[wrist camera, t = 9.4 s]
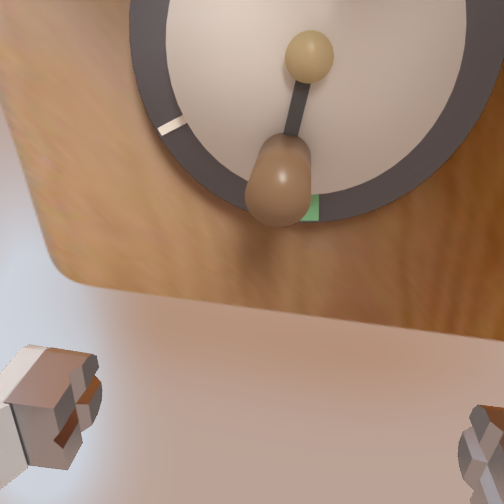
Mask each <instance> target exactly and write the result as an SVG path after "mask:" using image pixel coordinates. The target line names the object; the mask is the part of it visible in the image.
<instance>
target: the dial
mask: <svg viewBox="0 0 504 504" xmlns="http://www.w3.org/2000/svg"><path fill="white" fill-rule="evenodd" d="M465 36H466V1H465V0H170V2H169V9H168V16H167V23H166V54H167V65H168V70H169V75H170V80H171V85H172V88H173V91H174V94H175V97H176V100H177V103H178V105H179V107H180V110H181V112H182V114H183V116H184V118H185V120H186V122H187V123H188V125H189V127H190V128H191V130H192V132H193V133H194V135H195V136H196V137H197V139H198V140H199V141H200V142H201V144H202V145H203V146H204V147H205V149H206V150H207V151H208V152H209V153H210V154H211V155H212V156H213V157H214V158H215V159H216V160H217V161H218V162H220V163H221V164H222V165H224V166H225V167H226V168H228V169H229V170H230V171H231V172H233V173H235V174H236V175H238V176H240V177H242V178H243V179H245V180H247V181H248V183H247V186H246V190H245V203H246V206H247V208H248V210H249V212H250V214H251V215H252V216H253V217H254V218H255V219H256V220H257V221H258V222H260V223H262V224H264V225H266V226H269V227H274V228H283V227H288V226H291V225H293V224H295V223H297V222H298V221H300V220H301V219H302V218H303V217H304V216H305V214H306V213H307V211H308V209H309V207H310V203H311V195H314V194H326V193H331V192H336V191H341V190H345V189H348V188H351V187H354V186H357V185H360V184H362V183H364V182H367V181H369V180H371V179H373V178H375V177H377V176H379V175H380V174H382V173H383V172H385V171H387V170H388V169H390V168H391V167H393V166H394V165H395V164H397V163H398V162H399V161H400V160H402V159H403V158H404V157H405V156H407V155H408V154H409V153H410V152H411V151H412V150H413V149H414V148H415V147H416V146H417V145H418V144H419V143H420V142H421V141H422V139H423V138H424V137H425V135H426V134H427V133H428V132H429V130H430V129H431V128H432V127H433V125H434V124H435V122H436V120H437V119H438V117H439V116H440V114H441V112H442V111H443V109H444V107H445V105H446V103H447V101H448V99H449V97H450V95H451V93H452V90H453V88H454V85H455V82H456V79H457V76H458V73H459V70H460V66H461V62H462V57H463V52H464V47H465Z"/></svg>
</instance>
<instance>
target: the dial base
mask: <svg viewBox="0 0 504 504" xmlns="http://www.w3.org/2000/svg"><path fill="white" fill-rule="evenodd" d="M465 1H466V36H465V47H464V52H463V57H462V62H461V66H460V70H459V73H458V76H457V79H456V82H455V85H454V88H453V90H452V93H451V95H450V97H449V99H448V101H447V103H446V105H445V107H444V109H443V111H442V112H441V114H440V116H439V117H438V119H437V120H436V122H435V124H434V125H433V127H432V128H431V129H430V130H429V132H428V133H427V134H426V135H425V137H424V138H423V139H422V141H421V142H420V143H419V144H418V145H417V146H416V147H415V148H414V149H413V150H412V151H411V152H410V153H409V154H408V155H407V156H405V157H404V158H403V159H402V160H400V161H399V162H398V163H397V164H395V165H394V166H393V167H391V168H390V169H388V170H387V171H385V172H383V173H382V174H380V175H379V176H377V177H375V178H373V179H371V180H369V181H367V182H364V183H362V184H360V185H357V186H354V187H351V188H348V189H345V190H341V191H336V192H331V193H326V194H314V195H311V203H310V207H309V209H308V211H307V213H306V214H305V216H304V217H303V218H302V219H301V220H300V221H298V222H303V223H315V222H329V221H336V220H341V219H346V218H351V217H354V216H358V215H361V214H364V213H367V212H370V211H373V210H375V209H378V208H380V207H382V206H384V205H386V204H389V203H391V202H393V201H395V200H396V199H398V198H400V197H401V196H403V195H405V194H406V193H408V192H410V191H411V190H413V189H414V188H416V187H417V186H418V185H419V184H421V183H422V182H423V181H425V180H426V179H427V178H429V177H430V176H431V175H432V174H433V173H434V172H435V171H436V170H438V169H439V168H440V167H441V166H442V165H443V164H444V163H445V162H446V161H447V160H448V159H449V158H450V157H451V155H452V154H453V153H454V152H455V151H456V149H457V148H458V147H459V146H460V145H461V143H462V142H463V141H464V140H465V138H466V137H467V135H468V134H469V132H470V131H471V129H472V128H473V126H474V125H475V123H476V122H477V120H478V119H479V117H480V115H481V113H482V111H483V109H484V107H485V105H486V103H487V101H488V99H489V97H490V96H491V93H492V91H493V88H494V85H495V83H496V80H497V77H498V75H499V72H500V69H501V66H502V62H503V58H504V0H465ZM169 2H170V0H131V3H130V13H129V28H130V48H131V56H132V63H133V69H134V73H135V77H136V81H137V85H138V89H139V92H140V95H141V98H142V101H143V103H144V106H145V109H146V111H147V114H148V116H149V118H150V120H151V122H152V124H153V126H154V128H155V130H156V132H157V133H158V135H159V137H160V138H161V140H162V141H163V143H164V144H165V146H166V147H167V149H168V150H169V152H170V153H171V154H172V155H173V157H174V158H175V159H176V160H177V161H178V162H179V164H180V165H181V166H182V167H183V168H184V169H185V170H186V171H187V172H188V173H189V174H190V175H191V176H192V177H193V178H194V179H195V180H196V181H197V182H198V183H200V184H201V185H202V186H204V187H205V188H206V189H208V190H209V191H210V192H212V193H213V194H214V195H216V196H218V197H219V198H221V199H223V200H225V201H226V202H228V203H230V204H232V205H234V206H236V207H238V208H241V209H243V210H245V211H248V212H249V210H248V208H247V206H246V203H245V190H246V186H247V183H248V181H247V180H245V179H243V178H242V177H240V176H238V175H236V174H235V173H233V172H231V171H230V170H229V169H228V168H226V167H225V166H224V165H222V164H221V163H220V162H218V161H217V160H216V159H215V158H214V157H213V156H212V155H211V154H210V153H209V152H208V151H207V150H206V149H205V147H204V146H203V145H202V144H201V142H200V141H199V140H198V139H197V137H196V136H195V135H194V133H193V132H192V130H191V128H190V127H189V125H188V123H187V122H186V120H185V118H184V116H183V114H182V112H181V110H180V107H179V105H178V103H177V100H176V97H175V94H174V91H173V88H172V85H171V80H170V75H169V70H168V65H167V54H166V23H167V16H168V9H169Z"/></svg>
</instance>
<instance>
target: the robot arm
mask: <svg viewBox="0 0 504 504" xmlns="http://www.w3.org/2000/svg"><path fill="white" fill-rule="evenodd" d="M98 368H99V365H98V360H97V356H95V355H93V354H89V353H83V352H77V351H70V350H64V349H57V348H48V347H42V346H36V345H30V344H29V345H27V346H25V347H23V348H22V349H21V350H20V351H19V352H18V353H17V354H16V356H15V357H14V358H13V359H12V360H11V361H10V362H9V364H8V365H7V366H6V367H5V368H4V369H3V370H2V372H1V373H0V490H1V489H2V488H3V487H4V486H6V485H7V484H8V483H9V482H11V481H12V480H13V479H15V478H16V477H17V476H18V475H20V474H21V473H22V472H23V471H25V470H26V469H27V468H28V465H30V466H38V467H46V468H55V469H62V470H68V469H69V467H70V465H71V463H72V461H73V459H74V458H75V456H76V454H77V452H78V450H79V448H80V447H81V445H82V443H83V442H82V436H81V432H82V431H84V430H85V429H87V428H88V427H90V426H91V425H92V424H93V422H94V420H95V418H96V416H97V414H98V411H99V407H100V404H101V401H102V385H101V382H100V380H99V379H98V378H97V377H96V376H95V373H96V371H97V370H98ZM469 418H470V420H471V423H472V427H470V428H469V429H467V430H466V431H464V432H463V433H462V436H461V438H460V441H459V446H458V460H459V467H460V470H461V474H462V477H463V479H464V480H465V481H466V483H468V485H469V486H470V487H471V488H472V489H473V490H474V492H473V495H472V497H471V499H470V502H471V504H504V408H501V407H493V406H485V405H477V406H476V407H475V408H473V410H472V412H471V414H470V417H469Z"/></svg>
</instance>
